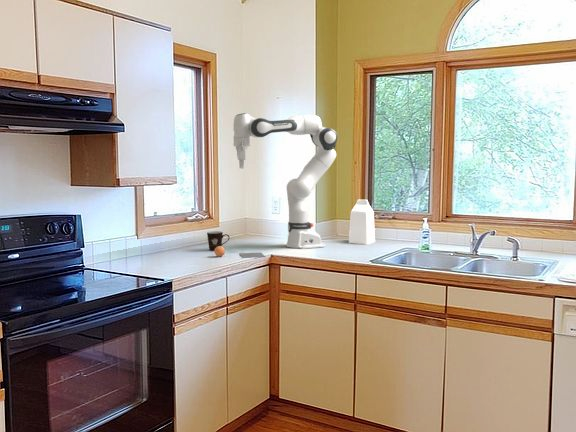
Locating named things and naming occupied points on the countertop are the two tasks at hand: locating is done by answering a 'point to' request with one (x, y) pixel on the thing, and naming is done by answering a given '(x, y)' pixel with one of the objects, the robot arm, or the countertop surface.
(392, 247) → the countertop surface
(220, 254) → the ball
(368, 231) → the milk
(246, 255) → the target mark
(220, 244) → the coffee mug
